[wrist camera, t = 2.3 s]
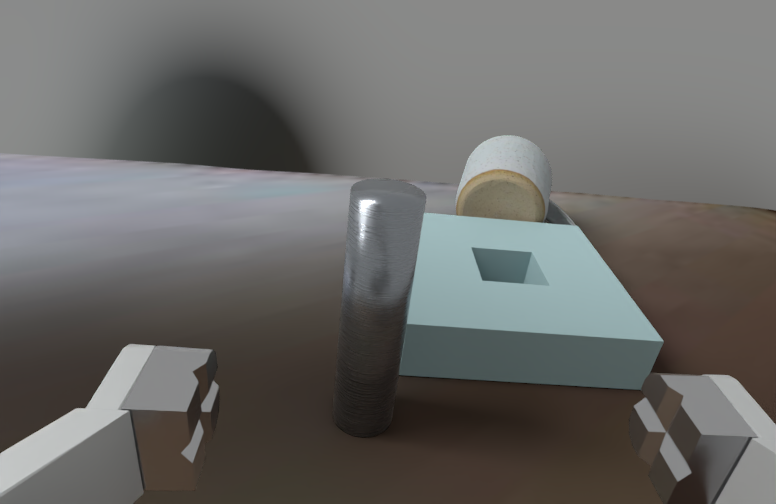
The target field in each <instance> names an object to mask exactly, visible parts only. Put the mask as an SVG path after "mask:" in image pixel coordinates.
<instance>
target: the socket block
mask: <svg viewBox="0 0 776 504" xmlns="http://www.w3.org/2000/svg"><path fill="white" fill-rule="evenodd" d="M663 342H664V341H663V340H662V338H661V337H660V336H659V334H658V333H657V332H656V330H655V329H654V328H653V326H652V325H651V324H650V322H649V321H648V320H647V318H646V317H645V316H644V314H643V313H642V312H641V310H640V309H639V307H638V306H637V305H636V303H635V302H634V301H633V299H632V298H631V297H630V295H629V294H628V293H627V291H626V290H625V289H624V287H623V286H622V285H621V283H620V282H619V281H618V279H617V278H616V277H615V275H614V274H613V273H612V271H611V270H610V268H609V267H608V266H607V264H606V263H605V262H604V260H603V259H602V258H601V256H600V255H599V254H598V252H597V251H596V250H595V248H594V247H593V246H592V244H591V243H590V242H589V240H588V239H587V238H586V236H585V235H584V234H583V232H582V231H581V229H580V228H579V227H578V226H573V225H562V224H550V223H538V222H527V221H515V220H503V219H492V218H480V217H468V216H456V215H445V214H433V213H424V216H423V223H422V229H421V236H420V242H419V249H418V255H417V261H416V268H415V274H414V281H413V287H412V294H411V300H410V307H409V313H408V320H407V326H406V333H405V339H404V345H403V352H402V358H401V365H400V371H399V375H406V376H422V377H439V378H455V379H471V380H488V381H504V382H520V383H536V384H553V385H569V386H585V387H602V388H618V389H634V390H641V387H642V385H643V383H644V380H645V378H646V377H647V376H648V375H649V374H650V372H651V369H652V367H653V365H654V363H655V360H656V358H657V356H658V354H659V351H660V349H661V347H662V345H663Z"/></svg>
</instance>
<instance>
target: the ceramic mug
mask: <svg viewBox="0 0 776 504" xmlns="http://www.w3.org/2000/svg"><path fill="white" fill-rule="evenodd" d="M551 186H552V171H551V167H550V164H549V161H548V159H547V158H546V156H545V155H544V153H543V152H542V150H541V149H539V148H538V147H537V146H536V145H534V144H533V143H532V142H530V141H529V140H527V139H524V138H521V137H517V136H507V135H506V136H498V137H493V138H491V139H489V140H486V141H484V142H483V143H482V144H480V145H479V146H478V147H477V148H476V149H475V150H474V151H473V153H472V154H471V155H470V157H469V159H468V161H467V163H466V167H465V170H464V173H463V176H462V180H461V182H460V185H459V188H458V191H457V195H456V213H457V216H468V217H480V218H492V219H503V220H515V221H527V222H538V223H544V221H545V219H546V220H548V221H549V222H550V223H551V224H562V225H573V226H576V225H575V223H574V222H573V221H572V220H571V218H570V217H569V216H568V215H567V214H566V213H565V212H564V211H563V210H562V209H561V208H560V207H559V206H558V205H556V204H555V203H553V202H552V201H551V200H549V196H550V191H551Z"/></svg>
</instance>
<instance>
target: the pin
mask: <svg viewBox="0 0 776 504" xmlns="http://www.w3.org/2000/svg"><path fill="white" fill-rule="evenodd" d="M425 203H426V195H425V193H424V192H423V191H422V190H421V189H419V188H418V187H416V186H414V185H412V184H409V183H406V182H402V181H398V180H392V179H367V180H362V181H359V182H357V183H355V184H354V185H353V186H352V187H351V193H350V205H349V217H348V230H347V242H346V254H345V266H344V278H343V291H342V303H341V315H340V327H339V339H338V352H337V364H336V376H335V388H334V400H333V419H334V421H335V423H336V425H337V426H338V427H339V428H340V429H341V430H343V431H344V432H346V433H348V434H350V435H353V436H357V437H372V436H376V435H378V434H381V433H382V432H384V431H385V430H386V429H387V428H388V427H389V426H390V424H391V421H392V416H393V410H394V404H395V397H396V391H397V384H398V378H399V371H400V365H401V358H402V352H403V345H404V339H405V333H406V326H407V320H408V313H409V307H410V300H411V294H412V287H413V281H414V274H415V268H416V261H417V255H418V249H419V242H420V236H421V229H422V223H423V216H424V210H425Z"/></svg>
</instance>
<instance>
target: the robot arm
mask: <svg viewBox="0 0 776 504" xmlns="http://www.w3.org/2000/svg"><path fill="white" fill-rule="evenodd" d="M217 368H218V366H217V357H216V352H215V351H214V350H211V349H197V348H184V347H171V346H152V345H137V344H129V345H127V346H126V347H124V348H123V349H122V351H121V352H120V354H119V355H118V357H117V359H116V360H115V362H114V363H113V365H112V367H111V368H110V370H109V371H108V373H107V375H106V376H105V378H104V380H103V381H102V383H101V384H100V386H99V388H98V389H97V391H96V392H95V394H94V396H93V397H92V399H91V400H90V402H89V404H88V405H87V407H86V408H85V409H84V408H76V409H74V410H73V411H71V412H69V413H68V414H66V415H64V416H62V417H61V418H59V419H57V420H56V421H54V422H52V423H51V424H49V425H47V426H46V427H44V428H42V429H40V430H39V431H37V432H35V433H34V434H32V435H30V436H29V437H27V438H25V439H23V440H22V441H20V442H18V443H17V444H15V445H13V446H12V447H10V448H8V449H6V450H5V451H3V452H1V453H0V504H133V503H134V502H135V501H136V500H137V499H138V498H139V497H141V496H142V495H143V494H144V491H143V490H158V491H195V490H196V487H197V484H198V481H199V478H200V475H201V472H202V469H203V466H204V463H205V460H206V455H205V444H206V443H207V442H208V441H210V440H211V439H212V438H213V435H214V431H215V428H216V424H217V418H218V412H219V398H220V396H219V386H218V385H217V384H216V383H215V382H214V381H213V379H214V376H215V373H216V371H217ZM641 390H642V392H643V394H644V396H645V398H644V399H643V400H641V401H640V402H639V403H637V404H636V405H635V406H634V407H633V410H632V412H631V415H630V418H629V435H630V439H631V443H632V446H633V448H634V450H635V452H636V453H637V455H638V456H639V457H640V458H641V459H642V460H644V461H645V462H646V463H648V464H649V465H650V466H651V468H650V471H649V475H648V476H649V478H650V480H651V482H652V484H653V485H654V487H655V489H656V491H657V493H658V495H659V496H660V498H661V500H662V502H663V504H776V425H775V423H774V422H773V421H772V420H771V419H770V418H769V416H768V415H767V414H766V413H765V412H764V411H763V410H762V408H761V407H760V406H759V405H758V404H757V403H756V401H755V400H754V399H753V398H752V397H751V396H750V395H749V393H748V392H747V391H746V390H745V389H744V388H743V386H742V385H741V384H740V383H739V382H738V381H737V380H736V379H734V378H733V377H731V376H729V375H688V374H666V373H651V374H649V375H648V376H647V377H646V378H645V380H644V383H643V385H642V387H641Z"/></svg>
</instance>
